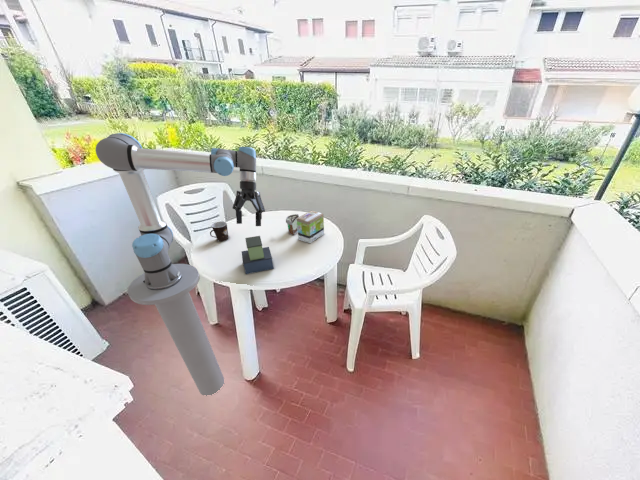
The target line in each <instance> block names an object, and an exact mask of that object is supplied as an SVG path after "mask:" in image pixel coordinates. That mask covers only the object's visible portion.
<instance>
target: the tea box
mask: <svg viewBox="0 0 640 480" xmlns="http://www.w3.org/2000/svg"><path fill="white" fill-rule="evenodd" d="M324 219H325V218H324V213H322V212H319V211H315V210H310V211H307V212H306V213H304V214H302V215H300V216H299V217H298V218H297V230H298V231H297V240H299V241H301V242H304V243H308V244H311V243H313V242H314V241H316V240H317V239H319V238H321V237H322V236H324V235H325V222H324Z"/></svg>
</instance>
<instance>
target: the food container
mask: <svg viewBox="0 0 640 480" xmlns="http://www.w3.org/2000/svg"><path fill="white" fill-rule="evenodd" d="M298 217H300V216H299V214H297V213H296V214H290V215H288V216H287V217H286V218H285V224H287V225H286V226H287V229H288V233H289V235H292V236H295V235H296V234H297V233H298V230H297V218H298Z"/></svg>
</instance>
